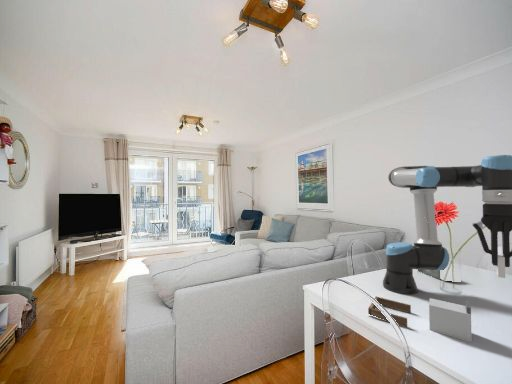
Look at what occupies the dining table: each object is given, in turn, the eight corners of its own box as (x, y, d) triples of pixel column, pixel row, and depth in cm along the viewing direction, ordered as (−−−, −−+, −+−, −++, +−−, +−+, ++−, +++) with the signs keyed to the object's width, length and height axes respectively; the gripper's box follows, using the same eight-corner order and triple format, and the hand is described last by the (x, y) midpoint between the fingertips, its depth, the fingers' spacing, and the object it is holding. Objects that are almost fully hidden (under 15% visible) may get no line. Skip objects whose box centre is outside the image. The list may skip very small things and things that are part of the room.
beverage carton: (428, 271, 146) (428, 260, 146) (458, 282, 127) (458, 270, 127) (417, 271, 145) (417, 261, 145) (445, 283, 126) (445, 271, 126)
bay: (375, 303, 102) (375, 296, 102) (410, 312, 94) (410, 305, 94) (368, 315, 91) (368, 308, 91) (407, 327, 83) (406, 319, 83)
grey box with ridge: (430, 321, 87) (429, 292, 87) (469, 332, 80) (468, 301, 80) (429, 330, 81) (429, 299, 82) (471, 342, 74) (470, 308, 75)
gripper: (472, 203, 75) (474, 275, 74) (533, 203, 66) (536, 284, 66) (470, 202, 80) (471, 269, 80) (526, 203, 72) (528, 277, 72)
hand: (500, 276), depth 73 cm, fingers closed
